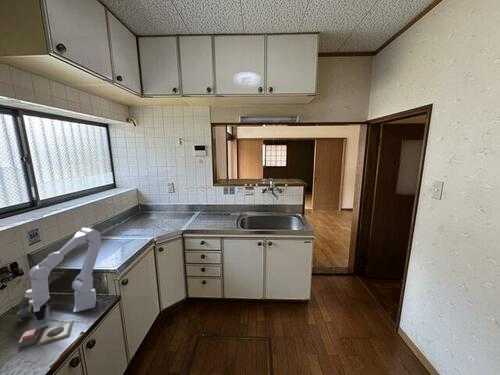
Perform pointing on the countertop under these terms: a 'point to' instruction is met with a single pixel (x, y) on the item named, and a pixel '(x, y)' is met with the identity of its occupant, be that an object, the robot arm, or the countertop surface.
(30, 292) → the supplement bottle
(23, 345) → the button housing
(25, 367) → the countertop surface
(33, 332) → the button
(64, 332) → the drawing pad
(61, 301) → the countertop surface
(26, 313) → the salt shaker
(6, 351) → the countertop surface
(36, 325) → the grey rectangular block
